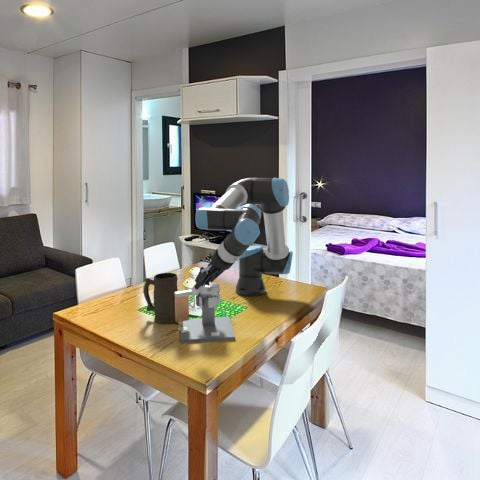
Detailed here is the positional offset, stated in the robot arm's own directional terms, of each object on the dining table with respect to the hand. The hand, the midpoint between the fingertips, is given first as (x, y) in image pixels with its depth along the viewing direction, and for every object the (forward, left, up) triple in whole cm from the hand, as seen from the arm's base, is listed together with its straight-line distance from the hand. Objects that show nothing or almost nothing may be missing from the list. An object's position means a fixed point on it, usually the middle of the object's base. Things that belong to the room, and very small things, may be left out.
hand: (194, 291), depth 153 cm
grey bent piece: (-1, -8, -13) cm, 16 cm away
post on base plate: (-5, -6, -18) cm, 19 cm away
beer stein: (+13, -20, -18) cm, 30 cm away
